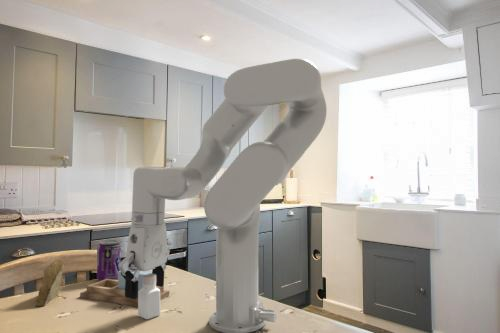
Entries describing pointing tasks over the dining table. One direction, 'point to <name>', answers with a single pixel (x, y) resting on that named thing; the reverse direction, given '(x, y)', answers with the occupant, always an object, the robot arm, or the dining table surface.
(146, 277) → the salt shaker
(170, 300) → the dining table surface
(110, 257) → the beverage can
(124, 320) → the dining table surface
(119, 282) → the light blue block
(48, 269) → the rock
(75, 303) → the dining table surface
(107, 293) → the frame
